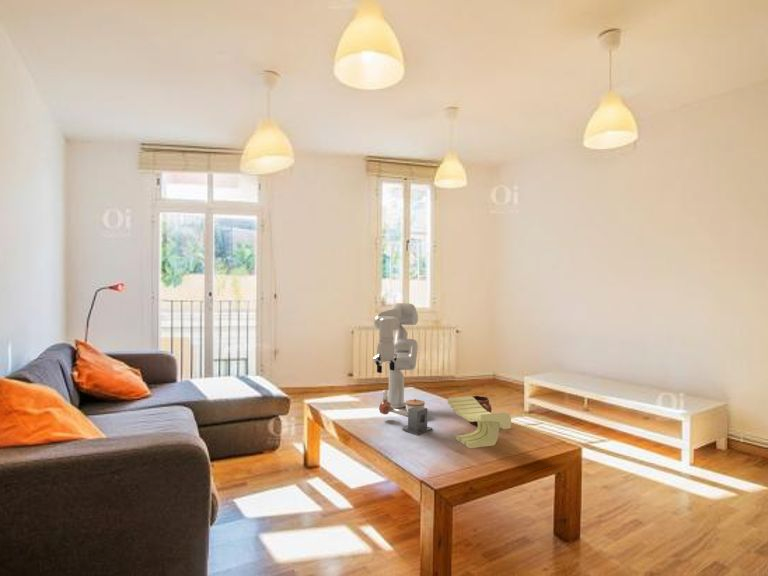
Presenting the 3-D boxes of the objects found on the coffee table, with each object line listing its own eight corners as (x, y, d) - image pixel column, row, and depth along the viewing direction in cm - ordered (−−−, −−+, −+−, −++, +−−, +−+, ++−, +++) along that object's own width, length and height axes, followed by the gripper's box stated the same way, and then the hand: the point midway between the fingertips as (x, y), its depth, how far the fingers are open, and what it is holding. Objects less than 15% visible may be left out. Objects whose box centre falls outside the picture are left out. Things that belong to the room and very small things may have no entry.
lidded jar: (421, 419, 248) (422, 402, 248) (403, 417, 252) (403, 400, 252) (426, 414, 258) (426, 397, 258) (408, 412, 262) (408, 396, 262)
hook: (378, 414, 245) (379, 391, 245) (388, 412, 250) (388, 389, 250) (405, 423, 231) (405, 398, 231) (414, 420, 236) (414, 395, 236)
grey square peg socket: (402, 430, 229) (402, 408, 229) (418, 425, 237) (418, 404, 237) (417, 435, 222) (417, 413, 222) (432, 430, 230) (433, 408, 230)
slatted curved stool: (510, 450, 203) (511, 411, 203) (480, 455, 197) (480, 414, 197) (474, 430, 231) (475, 395, 231) (447, 433, 226) (447, 398, 225)
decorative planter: (499, 428, 234) (500, 401, 234) (479, 430, 230) (479, 403, 230) (479, 417, 253) (479, 392, 253) (460, 419, 249) (460, 394, 249)
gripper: (392, 338, 255) (392, 368, 256) (369, 341, 243) (369, 372, 244) (402, 339, 250) (401, 370, 250) (379, 342, 238) (379, 374, 238)
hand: (385, 371), depth 247 cm, fingers open, 9 cm apart
